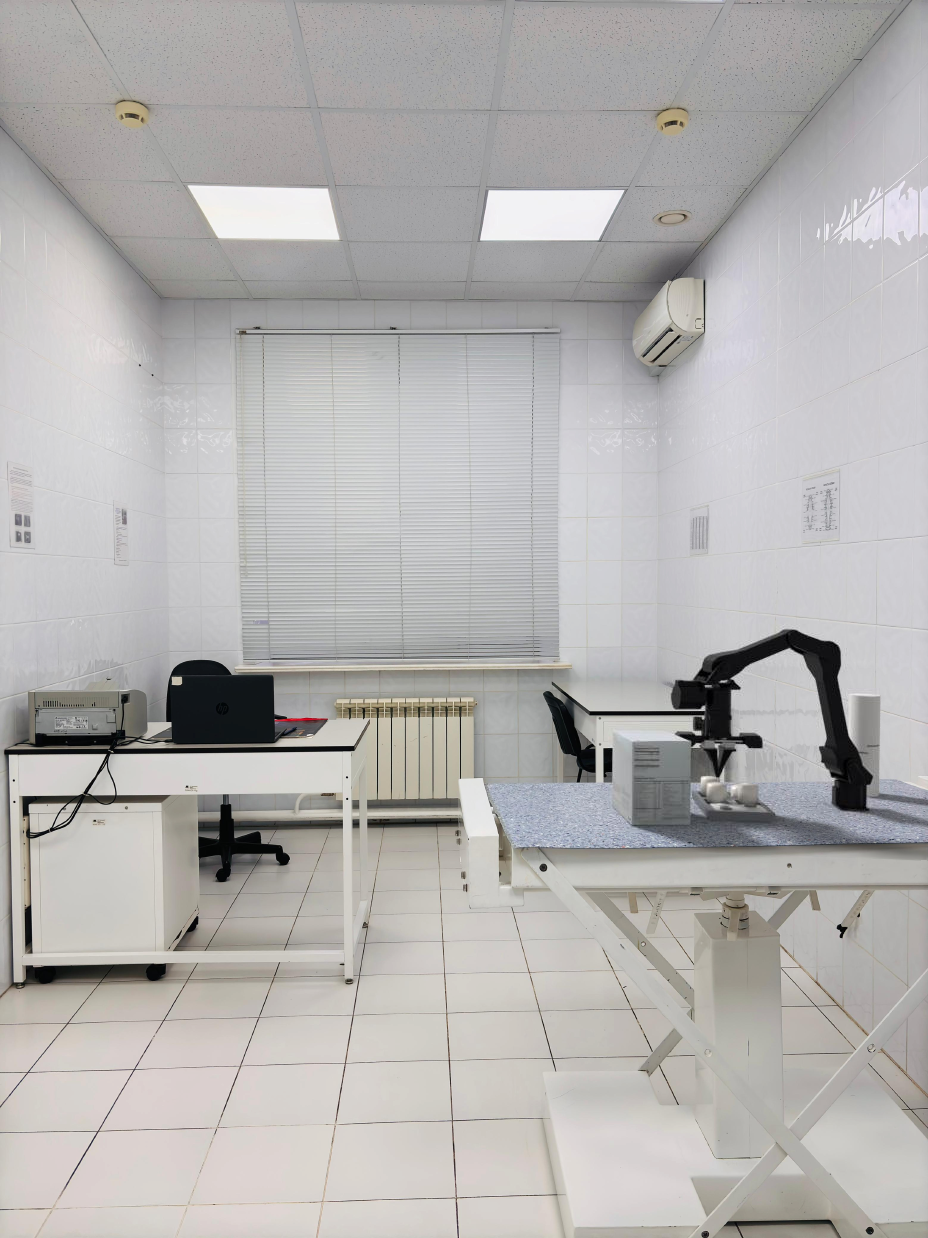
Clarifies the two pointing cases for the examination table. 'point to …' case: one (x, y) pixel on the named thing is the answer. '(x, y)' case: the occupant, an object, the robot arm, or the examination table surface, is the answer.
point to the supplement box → (651, 777)
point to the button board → (733, 809)
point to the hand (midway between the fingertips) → (717, 777)
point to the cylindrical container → (866, 734)
